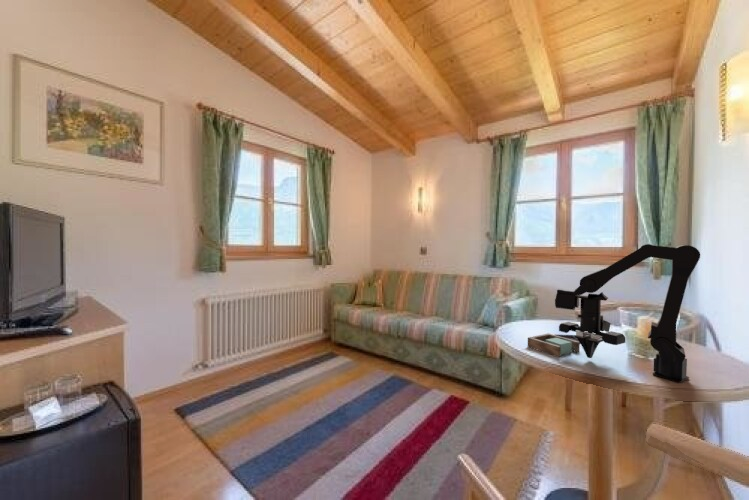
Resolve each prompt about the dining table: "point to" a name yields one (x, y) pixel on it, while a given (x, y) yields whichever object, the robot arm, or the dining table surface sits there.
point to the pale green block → (561, 344)
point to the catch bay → (544, 346)
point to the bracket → (569, 337)
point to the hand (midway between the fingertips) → (589, 357)
